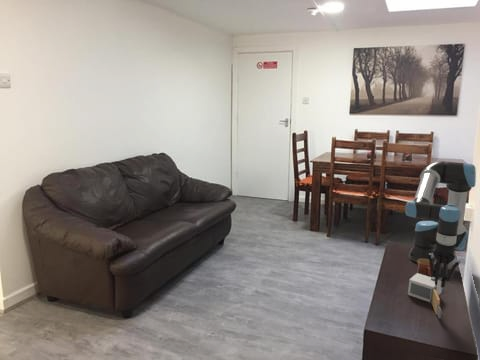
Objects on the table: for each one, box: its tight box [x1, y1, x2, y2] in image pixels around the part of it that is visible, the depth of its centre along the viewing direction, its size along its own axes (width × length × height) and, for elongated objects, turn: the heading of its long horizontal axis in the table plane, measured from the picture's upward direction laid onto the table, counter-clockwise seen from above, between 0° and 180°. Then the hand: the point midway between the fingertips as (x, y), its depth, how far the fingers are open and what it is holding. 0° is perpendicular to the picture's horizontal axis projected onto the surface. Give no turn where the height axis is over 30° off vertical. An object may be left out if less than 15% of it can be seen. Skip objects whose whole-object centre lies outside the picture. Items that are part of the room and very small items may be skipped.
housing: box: [407, 272, 439, 303], centre depth 190 cm, size 10×12×9 cm
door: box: [429, 288, 443, 319], centre depth 176 cm, size 1×16×8 cm, turn 165°
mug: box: [416, 259, 437, 277], centre depth 205 cm, size 12×9×10 cm
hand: (438, 292), depth 174 cm, fingers closed
